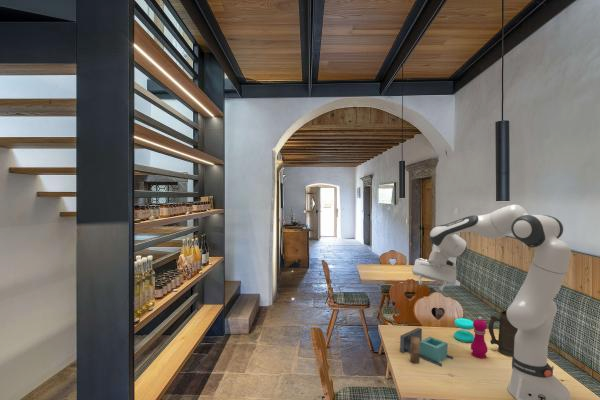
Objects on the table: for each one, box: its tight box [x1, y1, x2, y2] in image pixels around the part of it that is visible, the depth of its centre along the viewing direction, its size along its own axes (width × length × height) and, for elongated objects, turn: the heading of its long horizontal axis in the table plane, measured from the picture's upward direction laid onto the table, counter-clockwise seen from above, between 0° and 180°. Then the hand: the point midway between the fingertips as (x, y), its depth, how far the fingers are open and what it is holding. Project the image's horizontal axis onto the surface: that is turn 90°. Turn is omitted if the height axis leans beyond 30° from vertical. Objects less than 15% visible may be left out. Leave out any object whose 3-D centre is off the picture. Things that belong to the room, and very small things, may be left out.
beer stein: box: [487, 310, 518, 358], centre depth 176 cm, size 15×11×20 cm
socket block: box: [420, 336, 448, 363], centre depth 168 cm, size 9×9×7 cm
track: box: [399, 327, 454, 367], centre depth 170 cm, size 20×16×9 cm
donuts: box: [453, 317, 475, 343], centre depth 191 cm, size 10×10×10 cm
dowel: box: [409, 337, 421, 365], centre depth 163 cm, size 4×4×12 cm
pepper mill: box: [470, 316, 488, 359], centre depth 170 cm, size 7×7×20 cm
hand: (430, 287), depth 169 cm, fingers open, 8 cm apart
